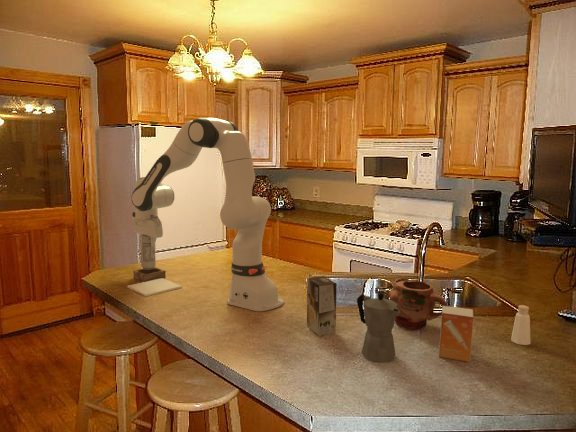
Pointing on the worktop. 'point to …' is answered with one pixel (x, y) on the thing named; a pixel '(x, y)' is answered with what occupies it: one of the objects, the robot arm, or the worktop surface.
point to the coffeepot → (378, 327)
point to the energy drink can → (147, 253)
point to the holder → (149, 274)
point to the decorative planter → (415, 304)
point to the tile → (154, 287)
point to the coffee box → (321, 305)
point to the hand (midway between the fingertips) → (148, 245)
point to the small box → (456, 333)
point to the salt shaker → (521, 326)
